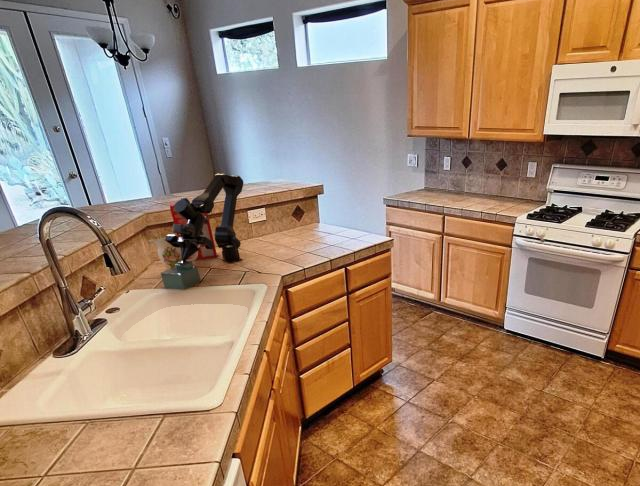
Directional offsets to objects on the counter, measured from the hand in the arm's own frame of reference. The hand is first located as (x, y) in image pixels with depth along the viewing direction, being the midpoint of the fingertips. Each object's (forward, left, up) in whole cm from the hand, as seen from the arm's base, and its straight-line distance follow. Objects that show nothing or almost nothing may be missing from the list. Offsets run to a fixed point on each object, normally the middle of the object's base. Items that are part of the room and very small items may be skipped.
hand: (183, 260), depth 170 cm
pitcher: (-5, -20, -9) cm, 23 cm away
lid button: (0, 0, -2) cm, 2 cm away
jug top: (+3, +2, -9) cm, 9 cm away
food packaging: (-19, -31, -9) cm, 38 cm away
